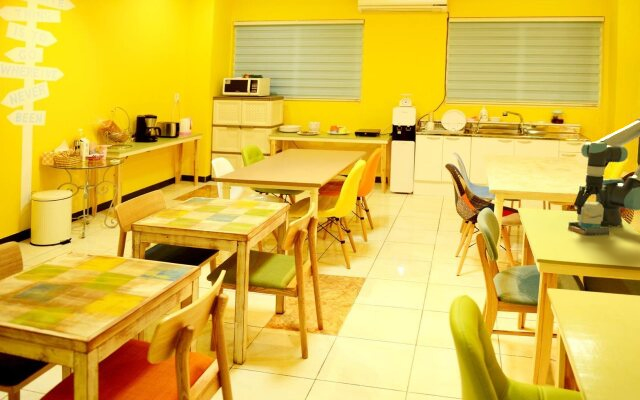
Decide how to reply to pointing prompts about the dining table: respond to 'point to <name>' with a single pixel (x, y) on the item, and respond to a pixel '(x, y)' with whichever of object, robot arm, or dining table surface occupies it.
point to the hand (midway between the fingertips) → (589, 220)
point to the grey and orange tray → (588, 229)
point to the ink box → (591, 215)
